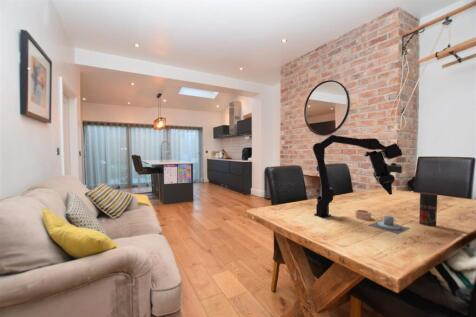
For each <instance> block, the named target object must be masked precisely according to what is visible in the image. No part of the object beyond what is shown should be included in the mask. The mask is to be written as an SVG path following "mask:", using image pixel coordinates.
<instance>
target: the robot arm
mask: <svg viewBox="0 0 476 317" xmlns="http://www.w3.org/2000/svg"><path fill="white" fill-rule="evenodd" d="M333 143H335V144H341V145H349V146H355V147H358V148H362V149H365V150H368V151H365V154H363V156H364V157H365V158H366V157H369V160H370V164H371V167H372V169H373V173H372V175H373V178H375V180H376V181H377V182H378V184H379V185H380V186H381V187H382V188H383V189H384V190H385V191H386V192H387V194H388V195H389V196H391V195H393V187H392V186H393V183H394V182H396V178H395V176H394V175H393V174H391V173H399V174H402V172H403V171H402V170H403V166H401V165H397V163H396V162H391V163H390V164H388V163H386V160H385V159H387V160H392V159H395V158H399V157H402V156H403V152H402V149H401V148H400V146H399V145H398V143H395V142H394V143H391V144H389V145H383V144H382V143H381V142H380V140H379V139H377V138H374V137H373V138H370V137H369V138H357V137H351V136H350V137H348V136H341V135H336V134H330V135H329V136H328V137H326V138H325V139H324V140H322V141H320V142H316V143H314V144H313V145H312V151H313V152H312V153H313V155H314V156H315V160H316V164H317V171H318V176H319V182H320V195H319V196H318V197H317V198H316V201H317V202H316V205H315V206H316V211H315V213H313V216H317V217H319V218H324V219H325V218H329V217H332V214H330V203H332V202H333V201H334V198H335V195H334V188H332V186H330V185H329V180H328V175H327V174H328V173H327V170H326V169H327V167H326V163H325V151H326V149H327V148H328V147H329V146H331V145H332V144H333Z"/></svg>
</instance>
